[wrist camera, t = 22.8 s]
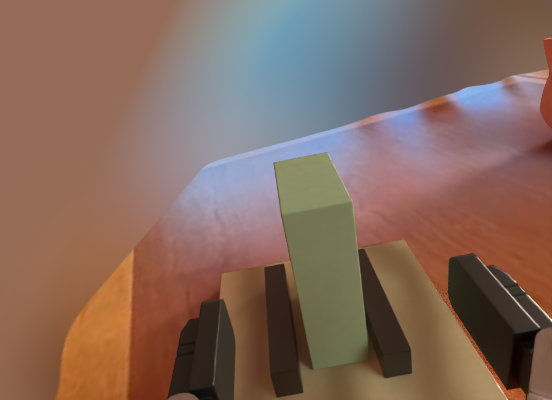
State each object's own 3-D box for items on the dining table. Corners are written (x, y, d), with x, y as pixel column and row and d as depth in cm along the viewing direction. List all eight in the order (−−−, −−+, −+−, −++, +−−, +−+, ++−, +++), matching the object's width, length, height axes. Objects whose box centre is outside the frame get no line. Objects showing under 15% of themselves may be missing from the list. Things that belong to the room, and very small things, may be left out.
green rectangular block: (313, 370, 24) (280, 214, 19) (300, 294, 30) (273, 162, 25) (370, 360, 24) (352, 200, 19) (345, 286, 30) (327, 151, 25)
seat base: (209, 480, 21) (191, 440, 19) (225, 286, 35) (215, 254, 34) (512, 428, 21) (518, 383, 19) (404, 253, 35) (403, 219, 33)
